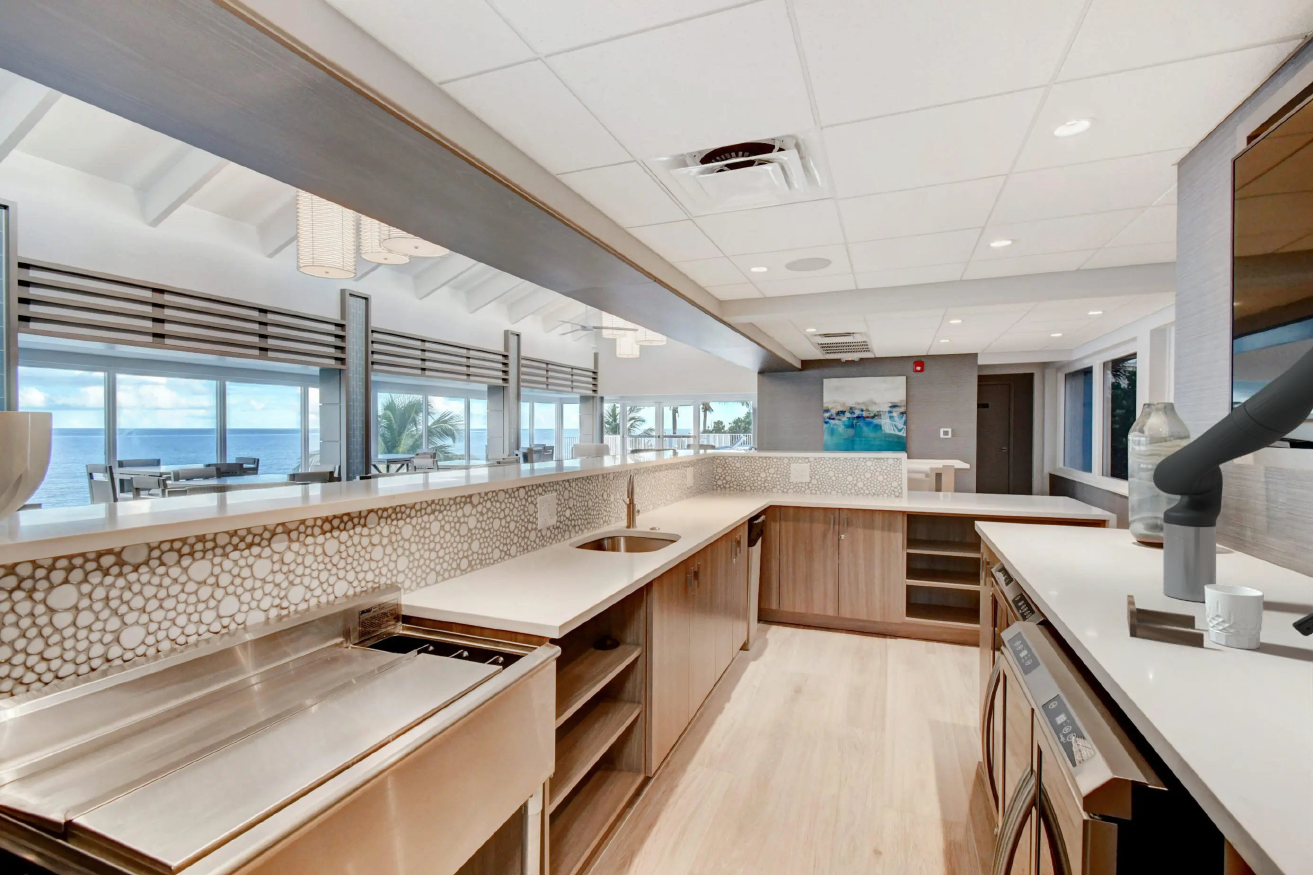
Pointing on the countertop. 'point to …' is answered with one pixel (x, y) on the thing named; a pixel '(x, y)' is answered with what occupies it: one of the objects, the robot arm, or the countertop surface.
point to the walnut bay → (1162, 632)
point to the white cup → (1234, 615)
